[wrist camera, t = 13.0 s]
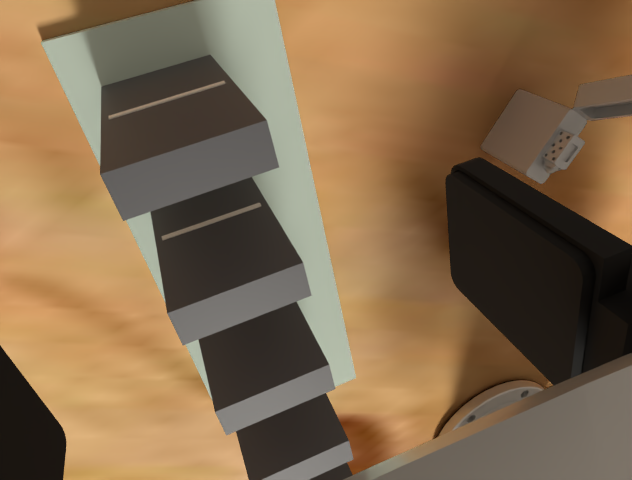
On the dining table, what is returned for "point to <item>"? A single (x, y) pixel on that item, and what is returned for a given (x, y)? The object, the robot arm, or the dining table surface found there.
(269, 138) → the domino
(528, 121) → the lighter
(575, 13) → the dining table surface
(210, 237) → the domino
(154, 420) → the dining table surface
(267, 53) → the mat
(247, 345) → the domino
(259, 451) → the domino
